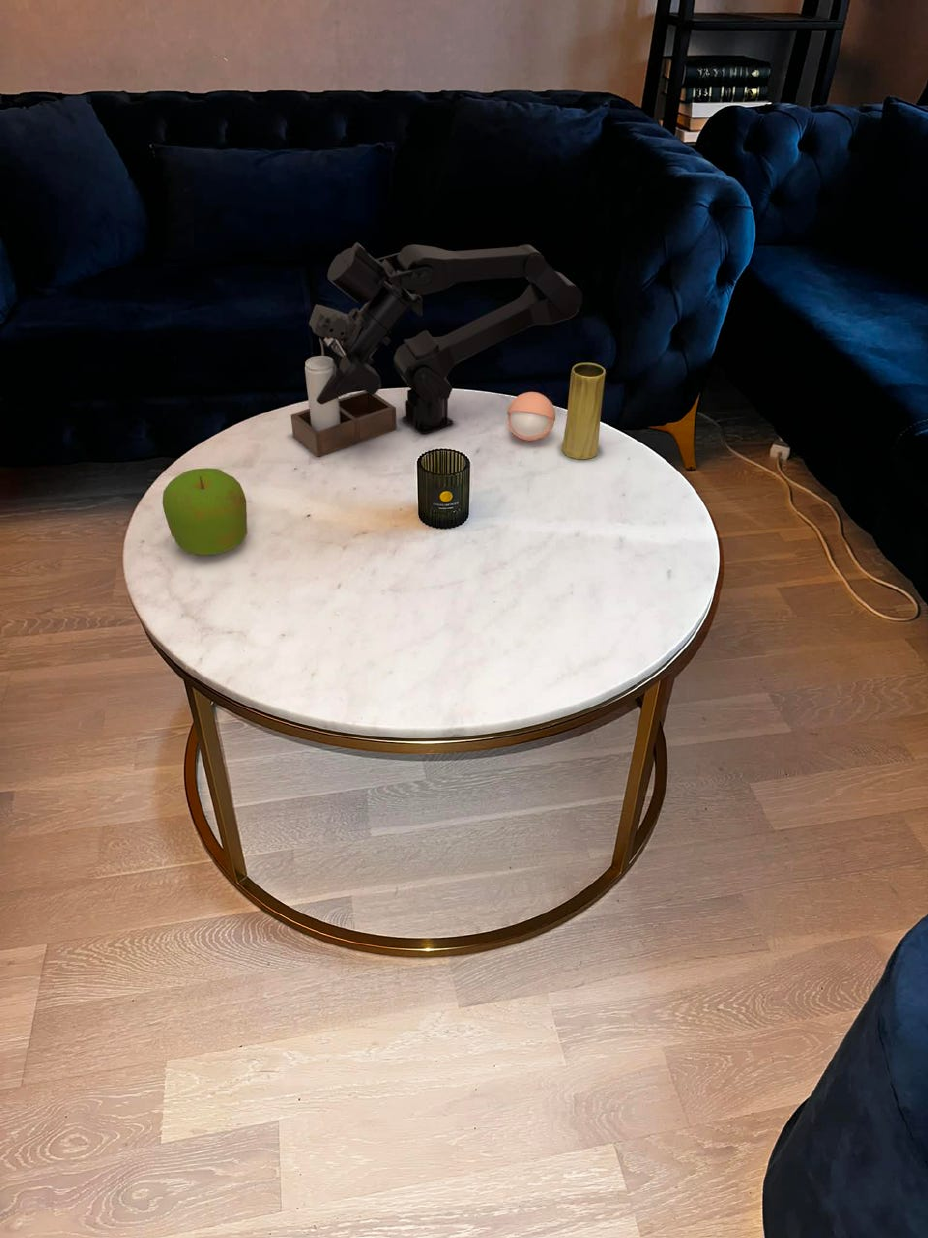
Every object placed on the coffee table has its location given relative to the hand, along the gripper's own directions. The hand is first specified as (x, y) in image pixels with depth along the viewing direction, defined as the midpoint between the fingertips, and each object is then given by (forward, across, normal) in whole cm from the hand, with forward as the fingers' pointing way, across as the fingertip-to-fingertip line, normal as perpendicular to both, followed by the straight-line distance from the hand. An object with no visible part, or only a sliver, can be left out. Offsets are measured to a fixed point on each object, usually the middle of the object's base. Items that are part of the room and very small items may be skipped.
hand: (314, 395), depth 150 cm
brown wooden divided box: (+3, -1, +9) cm, 10 cm away
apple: (+21, +23, -9) cm, 32 cm away
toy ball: (-17, +10, +30) cm, 36 cm away
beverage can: (+4, 0, +6) cm, 7 cm away
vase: (-22, +17, +34) cm, 44 cm away
